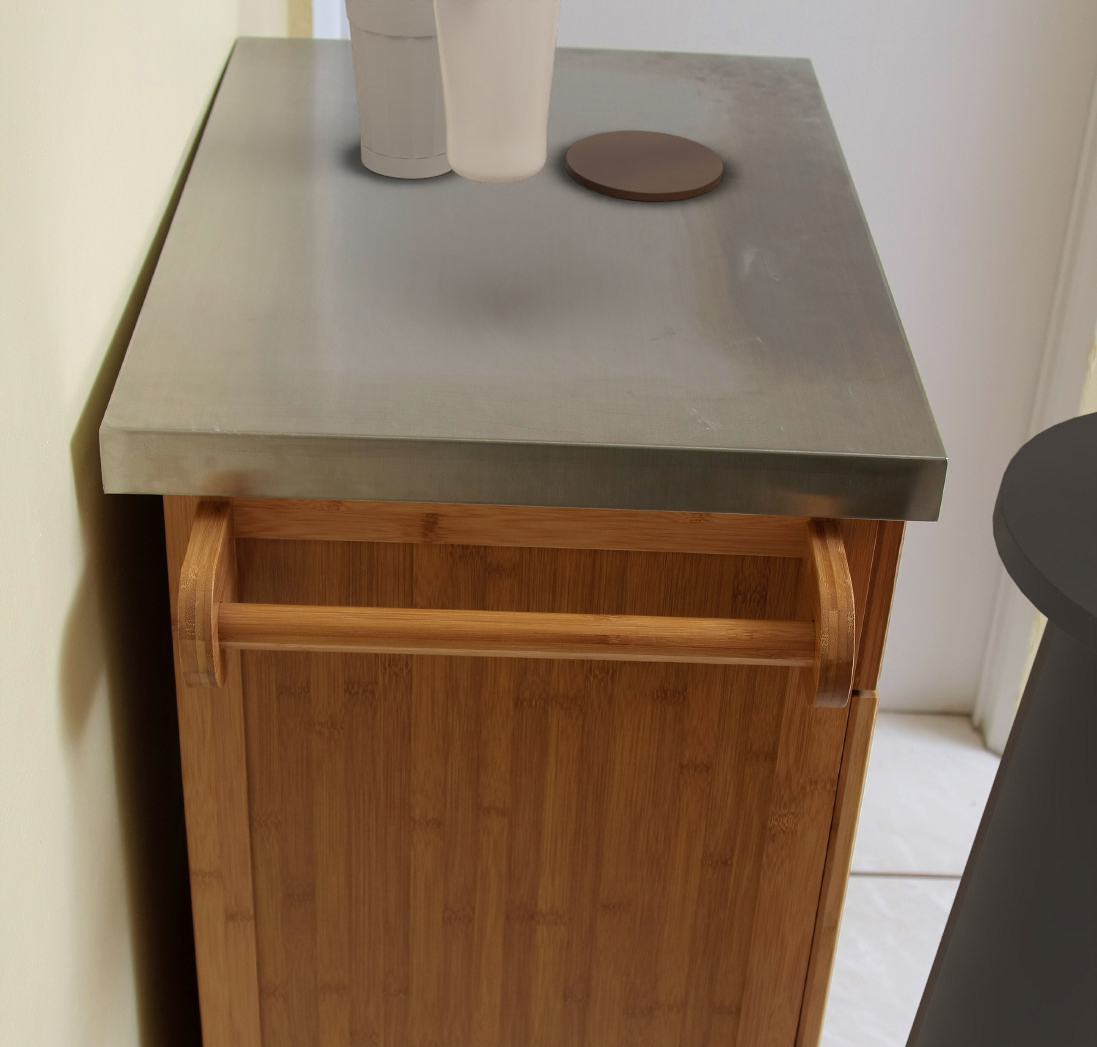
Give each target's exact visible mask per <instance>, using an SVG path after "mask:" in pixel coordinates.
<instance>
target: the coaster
mask: <svg viewBox="0 0 1097 1047" xmlns="http://www.w3.org/2000/svg"><path fill="white" fill-rule="evenodd" d="M565 168H566V169H565V170H566V171H567V173H568V175H569V176H570V177H571V178H572V179H573V180H574V181H576V182H577V183H578V184H580V185H582V186H583V187H585V188H587V189H590V190H592V191H595V192H597V193H599V194H603V195H606V196H611V197H615V198H619V199H624V200H632V201H639V202H641V201H642V202H671V201H672V202H673V201H679V200H685V199H690V198H695V197H698V196H701V195H704V194H706V193H708V192H710V191H711V190H713V189H715V188H716V187H717V186H718V185H719V184H720V182H721V181H722V178H723V173H724V172H723V171H724V165H723V161H722V158H720V156H719V155H718V154H717V153H716V152H715V151H713V150H712V149H710V148H709V147H708V146H706V145H704V144H702V143H700V142H697V141H694V140H692V139H689V138H686V137H684V136H680V135H675V134H671V133H665V132H658V131H652V130H651V131H650V130H616V131H608V132H600V133H596V134H593V135H589V136H587V137H584V138H582V139H579V140H578V141H576V142H575V143H573V144H572V145H571V146H570V147H569V148H568V150H567V152H566V156H565Z"/></svg>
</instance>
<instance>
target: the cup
mask: <svg viewBox="0 0 1097 1047" xmlns="http://www.w3.org/2000/svg"><path fill="white" fill-rule="evenodd" d="M344 4H345V13H346V18H347V21H348V25H349V26H348V27H349V34H350V35H349V36H350V43H351V52H352V62H353V72H354V82H355V91H356V101H357V107H358V117H359V118H358V119H359V126H360V135H361V136H360V159H361V163H362V165H363V166H364V167H365V168H367V169H368V170H370V171H371V172H374V173H376V174H378V175H382V176H385V177H391V178H395V179H407V180H408V179H409V180H410V179H412V180H413V179H414V180H415V179H428V178H433V177H437V176H441V175H444V174H446V173H448V172H450V171H453V170H452V169H451V167H450V166H449V164H448V161H447V158H446V133H445V116H444V105H443V94H442V83H441V73H440V63H439V53H438V43H437V33H436V23H435V14H434V4H433V0H344Z"/></svg>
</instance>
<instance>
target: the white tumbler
mask: <svg viewBox="0 0 1097 1047" xmlns="http://www.w3.org/2000/svg"><path fill="white" fill-rule="evenodd" d="M433 4H434V14H435V23H436V33H437V43H438V53H439V63H440V73H441V83H442V94H443V105H444V116H445V133H446V158H447V161H448V164H449V166H450V167H451V169H452V170H451V171H453V172H454V173H455V174H457V175H458V176H460V177H462V178H464V179H467V180H470V181H473V182H477V183H481V184H482V183H483V184H489V185H490V184H492V185H503V184H514V183H518V182H520V183H521V182H523V181H526V180H529V179H531V178H533V177H535V176H537V175H538V174H539V173H540V172H542V170H543V169H544V167H545V166H546V163H547V158H548V138H549V136H548V135H549V120H550V119H549V118H550V109H551V99H552V88H553V87H552V86H553V80H554V70H555V58H556V50H557V41H558V31H559V22H560V14H561V13H560V12H561V5H562V0H433Z"/></svg>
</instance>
